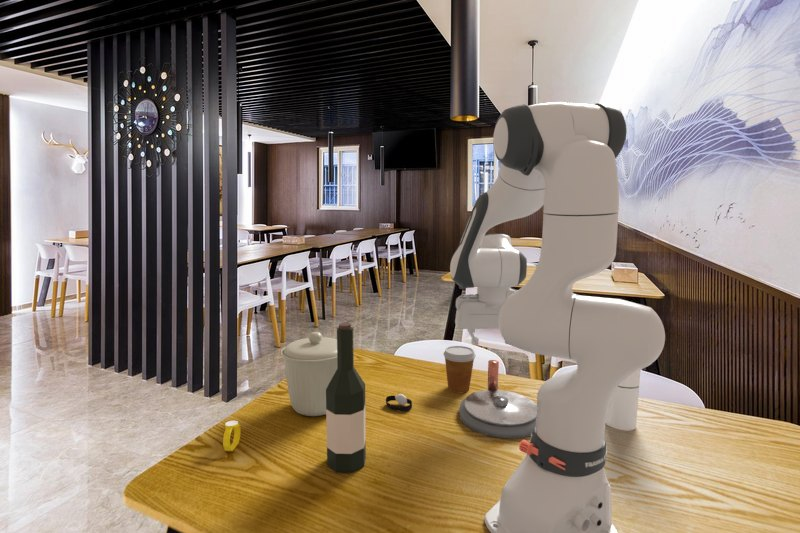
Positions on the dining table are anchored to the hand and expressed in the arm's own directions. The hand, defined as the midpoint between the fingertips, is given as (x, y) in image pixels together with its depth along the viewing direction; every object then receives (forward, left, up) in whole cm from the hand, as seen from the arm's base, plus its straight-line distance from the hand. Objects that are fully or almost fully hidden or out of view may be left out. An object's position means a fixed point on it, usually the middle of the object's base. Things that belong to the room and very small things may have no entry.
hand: (491, 344), depth 116 cm
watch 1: (-64, +19, -17) cm, 69 cm away
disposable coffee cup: (0, +12, -17) cm, 21 cm away
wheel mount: (-4, -7, -17) cm, 19 cm away
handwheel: (-4, -7, -15) cm, 17 cm away
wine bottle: (-46, -1, -17) cm, 49 cm away
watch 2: (-22, +13, -18) cm, 31 cm away
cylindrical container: (+18, -27, -17) cm, 37 cm away
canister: (-40, +26, -17) cm, 51 cm away
